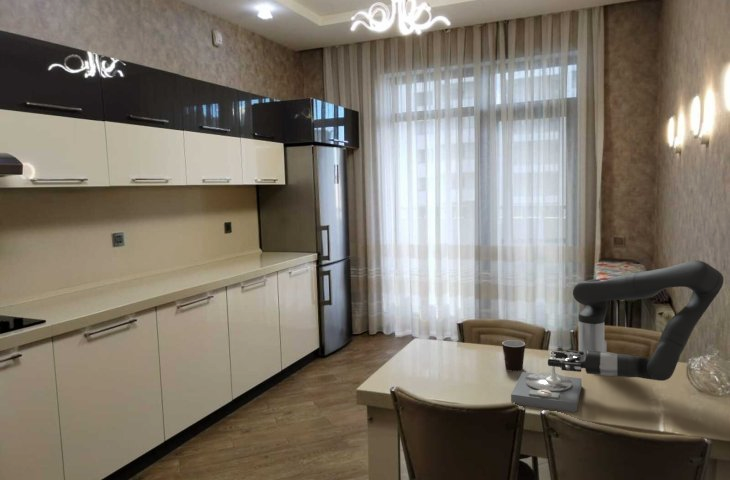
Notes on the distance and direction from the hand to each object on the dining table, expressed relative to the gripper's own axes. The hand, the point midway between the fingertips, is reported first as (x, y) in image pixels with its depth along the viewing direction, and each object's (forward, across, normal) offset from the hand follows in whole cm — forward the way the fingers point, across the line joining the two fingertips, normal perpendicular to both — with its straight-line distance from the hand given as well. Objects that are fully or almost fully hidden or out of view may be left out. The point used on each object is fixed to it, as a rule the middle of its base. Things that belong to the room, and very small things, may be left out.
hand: (549, 358), depth 175 cm
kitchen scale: (0, +3, +12) cm, 12 cm away
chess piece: (-1, 0, +8) cm, 8 cm away
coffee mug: (+15, -21, +12) cm, 29 cm away
